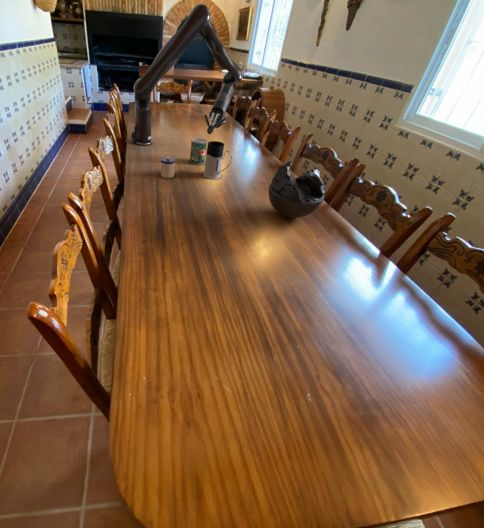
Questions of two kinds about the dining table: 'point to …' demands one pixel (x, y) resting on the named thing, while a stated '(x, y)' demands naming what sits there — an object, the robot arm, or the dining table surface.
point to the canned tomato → (198, 151)
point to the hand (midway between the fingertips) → (208, 133)
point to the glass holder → (214, 160)
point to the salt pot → (167, 167)
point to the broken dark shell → (296, 192)
